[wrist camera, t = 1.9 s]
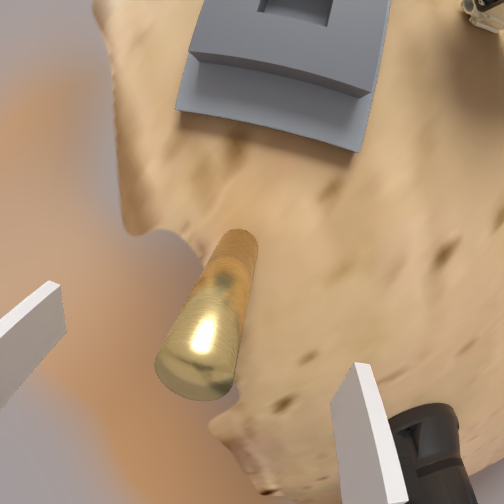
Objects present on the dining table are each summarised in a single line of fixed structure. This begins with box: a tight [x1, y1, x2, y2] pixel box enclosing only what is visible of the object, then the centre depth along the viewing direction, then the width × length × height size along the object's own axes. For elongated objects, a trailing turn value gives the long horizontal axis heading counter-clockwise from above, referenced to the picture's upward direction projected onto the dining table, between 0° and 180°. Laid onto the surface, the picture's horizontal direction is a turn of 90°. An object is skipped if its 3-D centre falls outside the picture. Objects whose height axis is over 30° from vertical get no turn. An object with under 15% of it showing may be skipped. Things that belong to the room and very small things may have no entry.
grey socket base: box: [175, 0, 391, 153], centre depth 16 cm, size 20×14×4 cm
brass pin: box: [154, 229, 258, 401], centre depth 18 cm, size 3×3×15 cm
